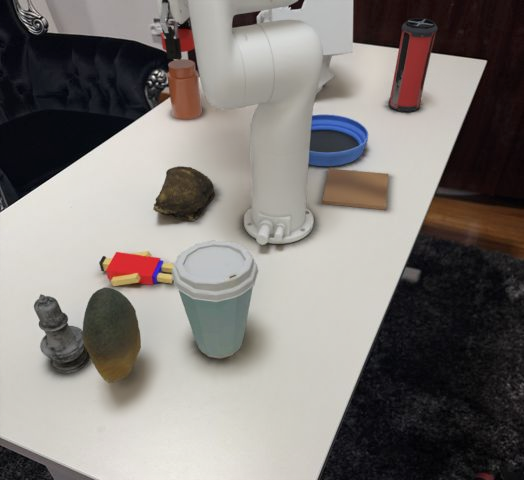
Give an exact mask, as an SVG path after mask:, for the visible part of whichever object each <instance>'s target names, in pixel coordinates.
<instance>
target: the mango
mask: <svg viewBox="0 0 524 480" xmlns="http://www.w3.org/2000/svg"><path fill="white" fill-rule="evenodd" d="M82 331H83V335H82V337H83V343H84V346H85V348H86V350H87V351H88V353H89V355H90V359H91V361H92V364H93V366H94V367H95V369H96V371H97V373H98V374H99V375H100V377H101V379H103V381H104V382H105V383H107V384H113V383H115V382H118V381H120V380H121V379H122V380H126V379H127V378H128V377H129V375H130V374H131V373H132V371H133V369H134V366H135V363H136V362H137V361H136V360H137V358H138V355H139V354H140V350H141V348H142V344H141V343H142V340H141V338H142V337H141V330H140V327H139V320H138V316H137V311H136V308H135V307H134V306H133V304H132V303H131V301H130V300H129V298H127V297H126V295H124V294H123V293H122V292H120V291H118V290H117V289H115V288H112V287H108V286H107V287H102V288H99V289H97V290H96V291H95V292H93V293H92V295H91V296H90V298H89V299H88V302H87V305H86V308H85V311H84V316H83V322H82Z"/></svg>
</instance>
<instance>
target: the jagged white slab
mask: <svg viewBox="0 0 524 480" xmlns="http://www.w3.org/2000/svg"><path fill="white" fill-rule="evenodd" d="M289 6H290V5H288V6H284V7H280V8H275V9H269V10H263V11H259V13H258V14H257V16H256V24H259V23H265V22H272V21H278V20H300V21H303V22H306V23H307V24H309V25H311V26H312V27H313V28H314V29H315V30H316V32H317V33H318V35H319V37H320V40H321V43H322V49H323V63H322V71H321V75H320V80H319V83H318V87H317V91H316V95H317V94H318V93H320V92H321V91H322V90H323V86H324V85H325V84H326V83H328V82H329V81H330V80H331V79H333V78H334V77H335V75H334V74H333V72H332V71H331V70H330V69H329V68H330V65H331V61H332V58H333V57H334V56H340V55H347V54H352V53H354V50H353V49H354V0H304V1H303V3H302V6H301V8H298V9H297V8H296V9H292V7H291V6H290V7H289Z"/></svg>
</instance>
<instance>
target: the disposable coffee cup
mask: <svg viewBox="0 0 524 480" xmlns="http://www.w3.org/2000/svg"><path fill="white" fill-rule="evenodd" d="M173 264H174V265H173V268H172V273H171V275H172V278H173V283H174V286H175V288H176V290H178V293H179V296H180V298H181V302H182V305H183V308H184V311H185V314H186V317H187V319H188V322H189V326H190V329H191V331H192V334H193V336H194V337H193V338H194V340H195V343H196V345H197V349H198V350H200V352H201V353H202V354H204V355H205V356H207V357H208V358H213V359H225V358H229V357H231V356H233V355H234V354H235V353H237V352H238V351H240V348H241V347H242V345H243V341H244V337H245V333H246V326H247V321H248V316H249V310H250V305H251V299H252V294H253V289H254V286H255V284H256V281H257V278H258V275H259V269H258V268H259V267H258V264H257V262H256V260H255V259H254V257H253V255H252V253H251V252H250V251H249V249H248V248H247V247H245V246H243V245H240V244H239V243H236V242H233V241H228V240H227V241H226V240H215V239H213V240H209V241H208V240H207V241H204V242H198V243H195V244H193V245H191V246H190V247H189V248H186V249H185V250H184V251H182V252H180V254H178V256H177V257H176V258H175V262H174V263H173Z"/></svg>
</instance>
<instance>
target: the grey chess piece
mask: <svg viewBox="0 0 524 480" xmlns="http://www.w3.org/2000/svg"><path fill="white" fill-rule="evenodd" d="M33 309H34V312H35V314H36V316H37V318H38V320H39V321H38V327H39V328H40V330H41V331H44V336H43V337H42V339H41V341H40V343H39V344H40V345H39V348H40V351H41V353H42V355H44V356H46V357H47V358H49V359H50V365H51V367H52V369H53V370H54V371H56V372H57V373H61V374H70V373H71V374H72V373H74V372H77V371H79V370H81V369H83V368H84V367H85V366H86V365H87V364H88V363H89V361H90V359H91V357H90V355H89V353H88V351H87V350H86V348H85V346H84V343H83V337H82V335H83V329H81V328H80V327H78V326H75V325H69V323H68V322H69V316H68V315H67V313H65V312H63V311H62V308H61V306H60V304H59V302H58V300H57V299H56V298H55V297H52V296H50V295H44V294H42V293H40V295H39V296H38V299H36V300H35V302H34V304H33Z"/></svg>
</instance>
